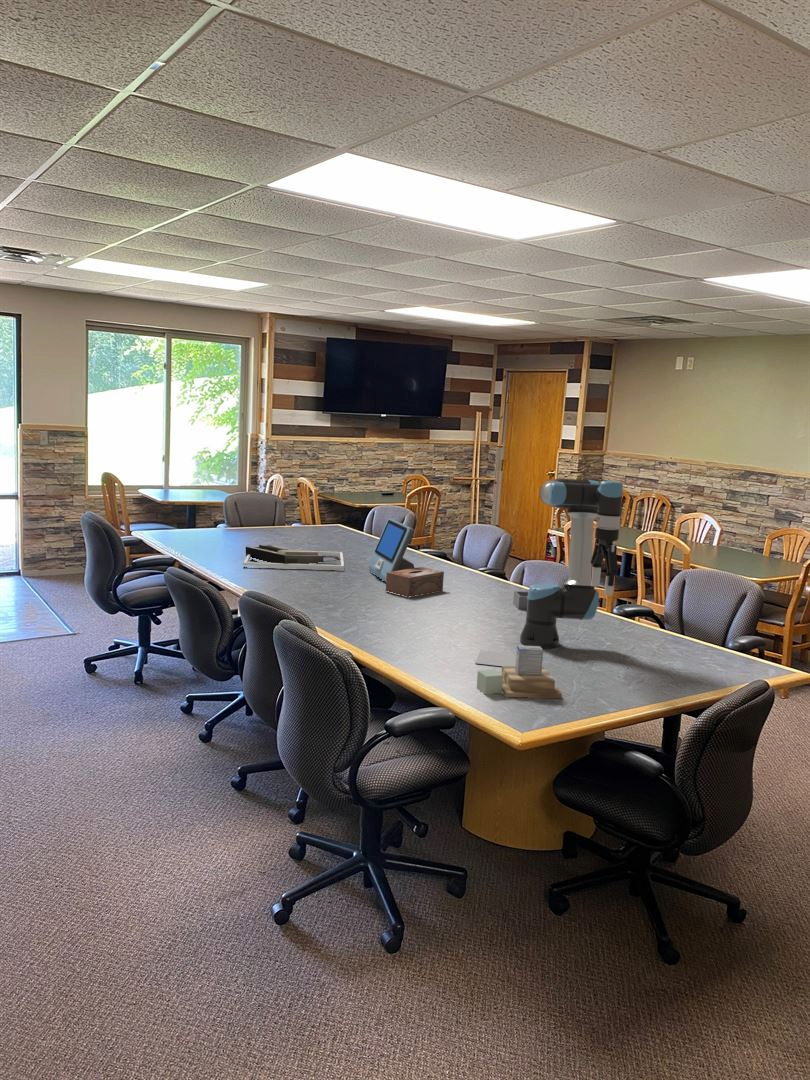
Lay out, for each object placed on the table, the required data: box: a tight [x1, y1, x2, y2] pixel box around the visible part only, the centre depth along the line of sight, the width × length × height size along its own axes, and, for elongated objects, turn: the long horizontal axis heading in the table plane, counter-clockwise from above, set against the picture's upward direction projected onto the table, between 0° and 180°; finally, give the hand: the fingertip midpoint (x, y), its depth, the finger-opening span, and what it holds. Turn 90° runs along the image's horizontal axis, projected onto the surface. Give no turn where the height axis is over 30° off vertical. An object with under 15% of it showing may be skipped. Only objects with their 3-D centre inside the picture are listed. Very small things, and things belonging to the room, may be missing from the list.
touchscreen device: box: [368, 517, 415, 583], centre depth 426 cm, size 35×20×30 cm, turn 19°
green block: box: [476, 669, 503, 695], centre depth 262 cm, size 6×6×6 cm
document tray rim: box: [243, 550, 345, 570], centre depth 457 cm, size 42×53×3 cm
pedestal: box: [501, 665, 563, 699], centre depth 266 cm, size 18×18×5 cm
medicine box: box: [515, 645, 544, 675], centre depth 265 cm, size 8×4×9 cm, turn 93°
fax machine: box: [245, 544, 341, 564], centre depth 457 cm, size 45×34×10 cm
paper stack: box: [475, 649, 516, 667], centre depth 291 cm, size 23×25×1 cm
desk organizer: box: [512, 590, 529, 611], centre depth 380 cm, size 11×21×6 cm, turn 95°
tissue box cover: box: [385, 566, 445, 597], centre depth 399 cm, size 26×14×10 cm, turn 138°
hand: (601, 590), depth 275 cm, fingers open, 13 cm apart
